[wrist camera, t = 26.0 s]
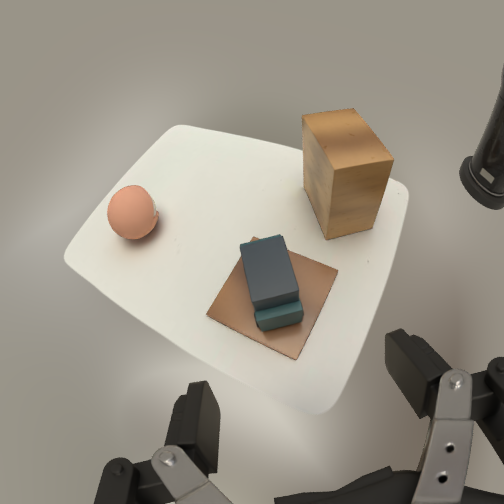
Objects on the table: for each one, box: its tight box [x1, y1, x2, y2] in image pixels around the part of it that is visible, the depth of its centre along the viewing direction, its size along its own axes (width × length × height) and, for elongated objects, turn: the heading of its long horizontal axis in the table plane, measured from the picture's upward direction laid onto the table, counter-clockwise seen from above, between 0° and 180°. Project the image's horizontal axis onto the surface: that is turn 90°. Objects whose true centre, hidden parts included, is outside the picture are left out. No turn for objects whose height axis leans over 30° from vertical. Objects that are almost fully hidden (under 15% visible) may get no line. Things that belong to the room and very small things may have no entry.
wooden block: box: [302, 108, 394, 240], centre depth 34 cm, size 10×7×13 cm
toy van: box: [240, 235, 304, 332], centre depth 30 cm, size 9×5×8 cm, turn 12°
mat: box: [206, 237, 338, 360], centre depth 34 cm, size 12×12×1 cm
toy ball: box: [107, 185, 159, 239], centre depth 39 cm, size 8×8×8 cm
